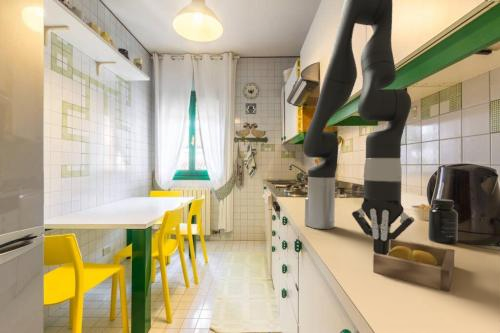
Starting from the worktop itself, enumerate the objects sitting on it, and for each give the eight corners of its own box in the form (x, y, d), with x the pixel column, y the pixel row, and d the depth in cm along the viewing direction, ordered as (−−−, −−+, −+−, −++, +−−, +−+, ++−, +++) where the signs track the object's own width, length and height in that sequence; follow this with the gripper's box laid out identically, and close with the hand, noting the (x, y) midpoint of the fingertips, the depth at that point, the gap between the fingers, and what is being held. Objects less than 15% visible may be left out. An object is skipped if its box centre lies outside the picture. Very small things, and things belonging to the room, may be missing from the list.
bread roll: (436, 278, 51) (436, 257, 51) (385, 266, 56) (385, 248, 56) (438, 265, 57) (438, 247, 57) (392, 256, 63) (392, 239, 63)
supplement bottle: (423, 237, 80) (424, 197, 80) (447, 238, 79) (448, 198, 79) (437, 244, 73) (437, 200, 73) (463, 245, 72) (464, 201, 72)
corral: (373, 271, 53) (373, 254, 53) (391, 253, 65) (391, 238, 65) (448, 291, 45) (449, 271, 45) (454, 266, 57) (454, 249, 57)
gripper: (419, 179, 58) (418, 258, 58) (357, 177, 66) (356, 245, 66) (413, 180, 52) (411, 268, 52) (346, 177, 60) (345, 253, 61)
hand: (380, 255), depth 59 cm, fingers closed
